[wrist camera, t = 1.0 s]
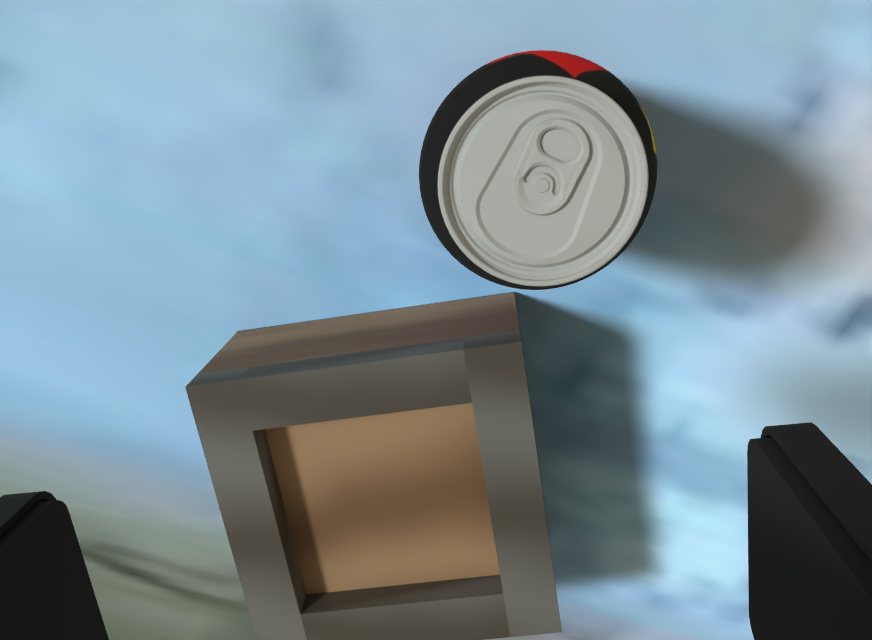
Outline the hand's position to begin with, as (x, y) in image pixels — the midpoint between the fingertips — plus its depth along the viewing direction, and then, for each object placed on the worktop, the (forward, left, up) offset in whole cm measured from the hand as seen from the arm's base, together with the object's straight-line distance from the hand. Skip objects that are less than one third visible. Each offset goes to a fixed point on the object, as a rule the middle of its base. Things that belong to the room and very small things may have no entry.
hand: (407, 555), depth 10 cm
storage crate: (+9, -4, -22) cm, 24 cm away
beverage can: (-3, +3, -22) cm, 23 cm away
